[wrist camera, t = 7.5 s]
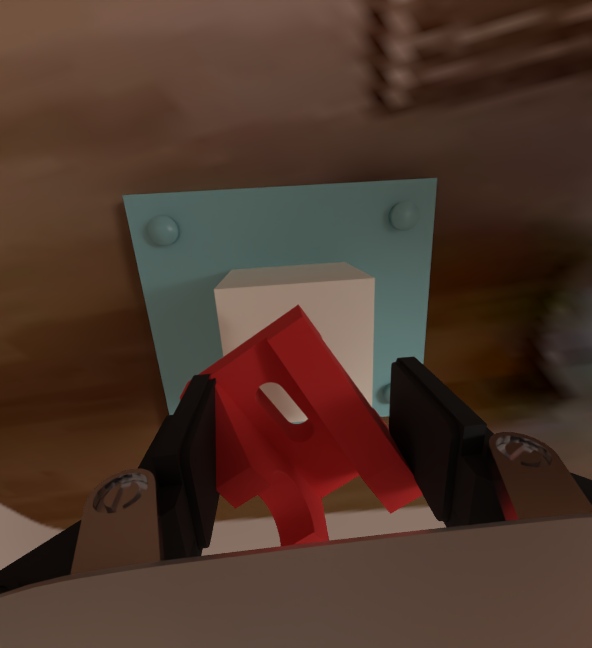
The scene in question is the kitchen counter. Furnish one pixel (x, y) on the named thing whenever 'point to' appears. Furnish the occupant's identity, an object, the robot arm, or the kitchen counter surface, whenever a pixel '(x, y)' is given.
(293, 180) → the kitchen counter surface
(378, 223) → the baseplate
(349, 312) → the base block
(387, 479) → the bracket
